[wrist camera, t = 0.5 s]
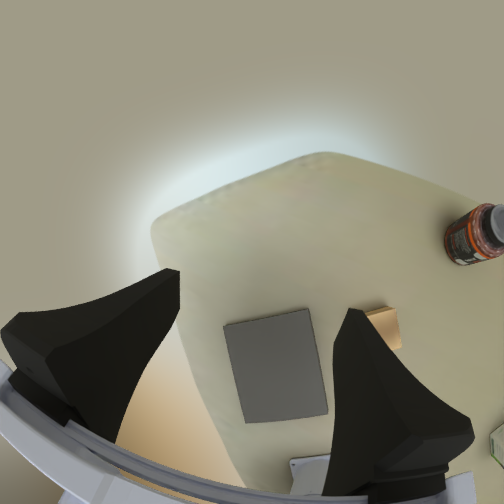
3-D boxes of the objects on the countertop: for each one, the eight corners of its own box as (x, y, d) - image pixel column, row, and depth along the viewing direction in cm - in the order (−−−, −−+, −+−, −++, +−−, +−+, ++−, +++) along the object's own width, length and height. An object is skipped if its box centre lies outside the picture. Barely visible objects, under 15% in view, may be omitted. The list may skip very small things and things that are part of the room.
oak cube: (393, 340, 30) (401, 347, 25) (359, 350, 31) (363, 358, 26) (387, 306, 31) (395, 308, 26) (353, 315, 32) (356, 319, 27)
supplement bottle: (461, 275, 28) (506, 267, 17) (435, 241, 30) (473, 219, 19) (484, 245, 27) (529, 227, 16) (460, 212, 29) (499, 183, 18)
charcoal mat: (328, 409, 30) (327, 414, 29) (248, 419, 33) (245, 423, 32) (308, 308, 33) (307, 309, 32) (227, 325, 36) (222, 326, 35)
